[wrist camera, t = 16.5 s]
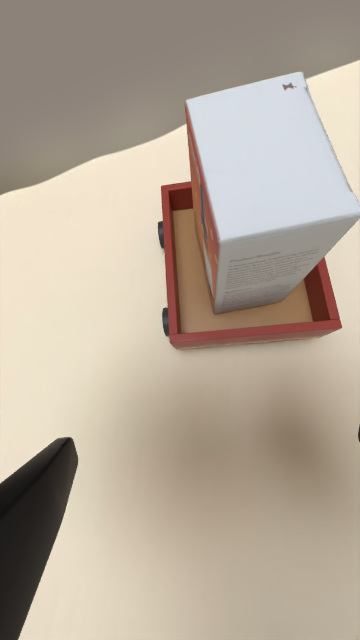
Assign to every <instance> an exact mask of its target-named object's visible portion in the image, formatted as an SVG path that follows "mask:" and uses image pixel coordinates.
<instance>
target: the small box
mask: <svg viewBox="0 0 360 640" xmlns="http://www.w3.org/2000/svg"><path fill="white" fill-rule="evenodd" d="M185 112H186V123H187V134H188V146H189V159H190V171H191V184H192V197H193V209H194V221H195V232H196V236H197V240H198V244H199V248H200V252H201V257H202V261H203V266H204V271H205V276H206V281H207V286H208V291H209V296H210V301H211V305H212V310H213V313H214V314H220V313H225V312H231V311H236V310H242V309H247V308H252V307H258V306H263V305H268V304H273V303H278V302H282V301H283V300H284V299H285V298H286V297H287V296H288V295H289V294H290V292H291V291H292V290H293V289H294V288H295V287H296V286H297V285H298V284H299V283H300V282H301V281H302V280H303V279H304V278H305V277H306V276H307V274H308V273H309V272H310V271H311V270H312V269H313V268H314V267H315V266H316V265H317V264H318V263H319V262H320V260H321V259H322V258H323V257H324V256H325V255H326V254H327V253H328V252H329V251H330V250H331V249H332V247H333V246H334V245H335V244H336V243H337V242H338V241H339V240H340V239H341V238H342V237H343V236H344V235H345V234H346V232H347V231H348V230H349V229H350V228H351V227H352V226H353V225H354V224H355V223H356V222H357V221H358V220H359V218H360V204H359V202H358V200H357V197H356V195H355V194H354V193H353V191H352V189H351V187H350V185H349V183H348V181H347V179H346V176H345V174H344V172H343V170H342V167H341V165H340V163H339V161H338V159H337V156H336V154H335V152H334V150H333V147H332V145H331V142H330V140H329V138H328V135H327V133H326V131H325V129H324V126H323V124H322V122H321V119H320V117H319V115H318V112H317V110H316V107H315V105H314V103H313V100H312V97H311V95H310V92H309V89H308V85H307V83H306V80H305V77H304V74H303V72H296V73H292V74H288V75H284V76H279V77H275V78H271V79H267V80H263V81H259V82H255V83H251V84H247V85H242V86H238V87H235V88H231V89H227V90H222V91H219V92H214V93H210V94H206V95H202V96H199V97H195V98H191V99H188V100H186V102H185Z"/></svg>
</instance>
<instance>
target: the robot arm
mask: <svg viewBox="0 0 360 640" xmlns="http://www.w3.org/2000/svg"><path fill="white" fill-rule="evenodd" d="M358 439H359V442H360V426H359V432H358ZM77 466H78V455H77V452H76V448H75V444H74V441H73V439H72V438H71V437H64V438H58V439H56V440H55V441H54V442H52V443H51V444H50V445H48V446H47V447H46V448H45V449H43V450H42V451H41V452H40V453H38V454H37V455H36V456H35V457H33V458H32V459H31V460H29V461H28V462H27V463H26V464H24V465H23V466H22V467H21V468H19V469H18V470H17V471H16V472H14V473H13V474H12V475H10V476H9V477H8V478H7V479H5V480H4V481H3V482H2V483H0V640H18V639H19V636H20V633H21V631H22V628H23V625H24V623H25V620H26V617H27V615H28V612H29V609H30V606H31V604H32V601H33V598H34V596H35V593H36V590H37V588H38V585H39V582H40V580H41V577H42V574H43V572H44V569H45V566H46V564H47V561H48V558H49V555H50V553H51V550H52V547H53V545H54V542H55V539H56V537H57V534H58V531H59V528H60V526H61V523H62V520H63V516H64V513H65V509H66V506H67V502H68V498H69V495H70V491H71V488H72V484H73V480H74V477H75V473H76V469H77Z"/></svg>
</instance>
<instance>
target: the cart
mask: <svg viewBox="0 0 360 640" xmlns="http://www.w3.org/2000/svg"><path fill="white" fill-rule="evenodd" d="M161 196H162V213H163V221H160V222H158V234H159V240H160V245H161V247H162V249H165V266H166V284H167V301H168V308H164V309H163V313H162V318H163V328H164V332H165V335H166V336H170V343H171V344H172V345H173V347H174V348H176V349H189V348H200V347H212V346H224V345H236V344H248V343H260V342H271V341H283V340H295V339H307V338H319V337H322V336H324V335H327V334H329V333H331V332H334V331H336V330H338V329H341V328H342V325H341V321H340V317H339V313H338V309H337V305H336V301H335V297H334V293H333V289H332V285H331V281H330V277H329V273H328V269H327V265H326V261H325V257H323V258H322V259H321V260H320V262H319V263H318V264H317V265H316V266H315V267H314V268H313V269H312V270H311V271H310V272H309V273H308V274H307V276H306V277H305V278H304V279H303V280H302V281H301V282H300V283H299V284H298V285H297V286H296V287H295V288H294V289H293V290H292V291H291V292H290V294H289V295H288V296H287V297H286V298H285V299H284V300H283V301H282V302H278V303H273V304H268V305H263V306H258V307H252V308H247V309H242V310H236V311H231V312H225V313H220V314H214V313H213V310H212V305H211V301H210V296H209V291H208V286H207V281H206V276H205V271H204V266H203V261H202V257H201V252H200V248H199V244H198V240H197V236H196V232H195V221H194V209H193V197H192V184H191V181H190V182H184V183H177V184H170V185H164V186H161Z"/></svg>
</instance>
